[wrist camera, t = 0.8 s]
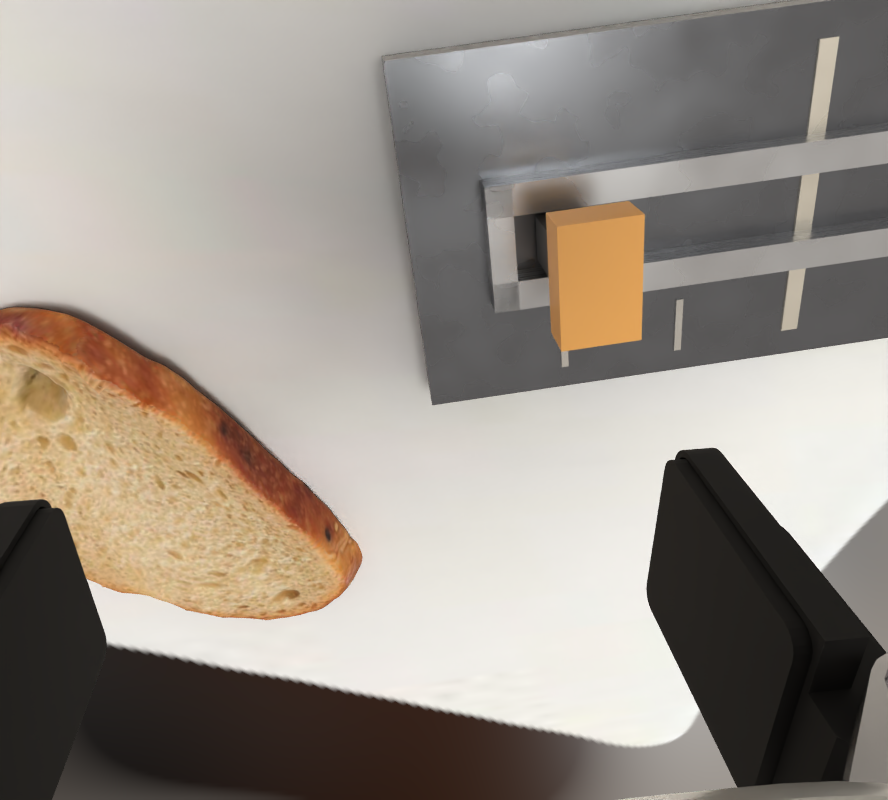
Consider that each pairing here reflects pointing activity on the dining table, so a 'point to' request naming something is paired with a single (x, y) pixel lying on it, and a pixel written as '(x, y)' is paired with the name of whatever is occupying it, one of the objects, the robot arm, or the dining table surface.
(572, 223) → the fader tab
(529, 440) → the dining table surface
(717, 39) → the console
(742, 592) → the robot arm
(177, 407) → the bread slice
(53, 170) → the dining table surface
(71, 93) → the dining table surface
